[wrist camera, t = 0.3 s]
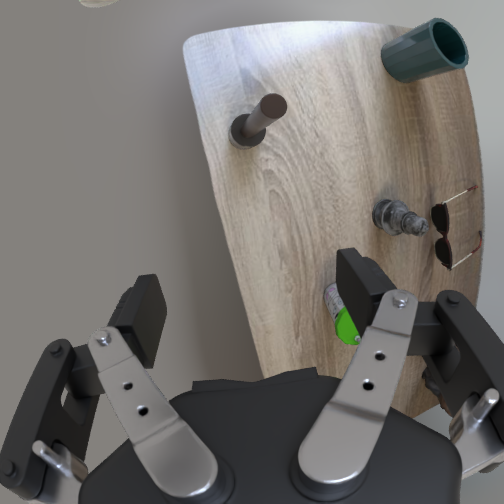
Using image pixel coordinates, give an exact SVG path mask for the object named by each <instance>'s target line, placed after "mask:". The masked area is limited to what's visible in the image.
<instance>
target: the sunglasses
mask: <svg viewBox="0 0 504 504" xmlns="http://www.w3.org/2000/svg"><path fill="white" fill-rule="evenodd" d="M474 188H478V186H474V187H471V188H469V189H467V190H466V191H464V192H462V193H460V194H458V195H456V196H454V197H452V198H450V199H448V200H446V201H444V202H441V204H436V205H435V206H432V207H431V210H430V216H431V221H432V223H433V225H434V226H435V227H436V228H437V229H436V230H437V231H438V232H440V233H441V234H442V235H443V238H440V239H438V240H437V241H436V242H435V243H434V250H435V254H436V257H437V258H438V260H439V261H441V262H442V265H444V266H445V267H447V270H449V271H450V270H451V269H452V268H454V267H455V266H456V265H458V264H459V263H460V262H462V261H463V260H464V259H466V258H467V257H469V256H470V255H472V254H473V253H474V252H476V251H477V250H478V249H479V248H480V246H481V241H482V231H479V233H480V244H479V246H478V247H477V248H476V249H475V250H474V251H472V252H471V253H470V254H469V255H468V256H466V257H465V258H463V259H462V260H461V261H459V262H458V263H457V264H454V265H453V266H452V251H451V247H450V243H449V241H448V239H447V234H448V231H449V214H448V209H447V205H446V203H447V202H449V201H450V200H452V199H453V198H455V197H457V196H459V195H461V194H463V193H465V192H468V191H470V190H472V189H474Z"/></svg>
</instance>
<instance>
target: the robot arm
mask: <svg viewBox="0 0 504 504" xmlns="http://www.w3.org/2000/svg"><path fill="white" fill-rule="evenodd" d="M336 287H337V291H338V294H339V296H340V298H341V300H342V302H343V304H344V305H345V307H346V309H347V311H348V313H349V315H350V317H351V319H352V321H353V323H354V325H355V327H356V329H357V331H358V333H359V335H360V337H361V341H360V343H359V345H358V348H357V350H356V352H355V354H354V356H353V358H352V360H351V362H350V364H349V366H348V368H347V370H346V372H345V374H344V376H343V378H342V379H339V378H336V377H331V376H323V375H318V373H317V370H316V367H311V368H305V369H300V370H293V371H287V372H283V373H281V374H278V375H275V376H272V377H269V378H266V379H263V380H260V381H257V382H244V381H234V380H224V379H219V380H205V381H193V386H192V390H191V391H188V392H185V393H182V394H180V395H178V396H176V397H174V398H173V399H171V400H169V401H167V399H166V398H165V397H164V395H163V394H162V392H161V391H160V390H159V388H158V387H157V386H156V384H155V383H154V382H153V381H152V379H151V378H150V376H149V374H148V373H147V371H146V370H145V369H150V368H153V365H154V361H155V357H156V353H157V350H158V346H159V342H160V338H161V334H162V330H163V327H164V323H165V319H166V315H167V307H166V302H165V299H164V296H163V293H162V290H161V287H160V284H159V281H158V278H157V276H156V274H149V275H141V276H139V277H138V278H137V280H136V282H135V284H134V286H133V287H130V288H129V289H128V290H127V291H126V292H125V293H124V294H123V295H122V297H121V299H120V300H119V303H118V304H117V306H116V309H115V310H114V312H113V314H112V317H111V318H110V321H109V323H108V325H107V326H106V327H103V328H100V329H98V330H96V331H95V332H94V333H92V335H91V336H90V337H89V339H88V344H85V345H81V346H78V347H74V348H73V347H72V345H71V344H70V342H69V341H68V340H66V339H58V340H56V341H54V342H52V343H50V344H49V345H48V346H47V347H46V348H45V350H44V352H43V354H42V356H41V358H40V360H39V361H38V364H37V365H36V368H35V370H34V372H33V374H32V376H31V378H30V380H29V382H28V384H27V386H26V389H25V391H24V393H23V396H22V398H21V400H20V402H19V405H18V407H17V410H16V412H15V414H14V417H13V419H12V422H11V425H10V427H9V430H8V433H7V435H6V438H5V441H4V444H3V447H2V450H1V453H0V483H1V484H2V485H3V486H4V487H6V488H7V489H9V490H11V491H12V492H14V493H15V494H17V495H18V496H19V497H20V498H22V499H23V500H25V501H27V502H28V503H30V504H460V486H461V480H463V479H465V478H466V477H468V476H470V475H472V474H474V473H476V472H480V473H488V472H491V471H492V470H494V469H495V468H496V467H498V466H499V465H500V464H501V463H503V462H504V344H503V343H502V341H501V340H500V339H499V337H498V336H497V335H496V333H495V332H494V331H493V330H492V328H491V327H490V326H489V324H488V323H487V322H486V321H485V319H484V318H483V317H482V316H481V314H480V313H479V312H478V311H477V310H476V308H475V307H474V306H473V305H472V304H471V302H470V301H469V300H468V299H467V298H466V297H465V296H464V295H463V294H461V293H460V292H457V291H454V290H444V291H441V292H440V293H439V294H438V295H437V299H436V302H418V300H417V298H416V296H415V295H414V294H412V293H411V292H409V291H406V290H401V289H397V288H396V286H395V285H394V284H393V283H392V281H391V280H390V279H389V278H388V276H387V275H386V274H385V273H384V271H383V270H382V269H380V267H379V265H378V264H377V263H376V262H375V261H373V260H372V259H370V258H368V257H362V256H361V255H360V254H359V253H358V251H357V250H356V249H355V248H346V249H339V250H338V251H337V257H336ZM454 344H456V345H457V347H458V348H459V351H460V353H459V352H458V350H457V349H456V347H455V346H454ZM413 355H422V357H423V359H424V360H425V362H426V364H427V366H428V368H429V370H430V372H431V374H432V376H433V378H434V380H435V382H436V384H437V386H438V388H439V390H440V392H441V394H442V396H443V398H444V400H445V402H446V405H447V407H448V409H449V411H450V413H451V415H452V417H453V419H452V421H451V423H450V426H449V434H450V438H451V439H450V440H449V439H448V438H447V437H445V436H443V435H442V434H440V433H438V432H436V431H434V430H432V429H430V428H428V427H427V426H425V425H423V424H421V423H419V422H417V421H415V420H413V419H412V418H410V417H408V416H406V415H405V414H403V413H401V412H399V411H397V410H396V409H394V408H392V407H390V405H391V402H392V399H393V396H394V394H395V391H396V388H397V384H398V381H399V378H400V375H401V372H402V368H403V365H404V362H405V358H406V356H413ZM64 387H65V388H66V390H67V391H68V394H67V396H66V400H65V402H64V405H63V407H62V404H61V395H62V392H63V390H64ZM104 393H106V395H107V397H108V399H109V401H110V403H111V405H112V407H113V409H114V411H115V413H116V415H117V417H118V419H119V421H120V423H121V424H122V426H123V428H124V430H125V432H126V434H127V435H128V437H129V438H128V439H127V440H126V441H125V442H124V443H123V444H122V445H121V446H120V447H118V448H117V449H116V450H115V451H114V452H113V453H112V454H111V455H110V456H109V457H108V458H107V459H105V460H104V461H103V462H102V463H101V464H100V465H98V466H97V467H96V468H95V469H94V470H93V471H92V472H90V473H89V474H88V468H87V466H86V464H85V463H84V460H85V455H86V450H87V446H88V441H89V437H90V432H91V428H92V423H93V420H94V415H95V412H96V408H97V404H98V401H99V397H100V394H104Z"/></svg>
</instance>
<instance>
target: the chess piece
mask: <svg viewBox="0 0 504 504" xmlns="http://www.w3.org/2000/svg"><path fill="white" fill-rule="evenodd" d="M372 217H373V221H374V223H375V225H376V226H377V227H378V228H380V229H384V230H385V232H386V233H388V234H389V235H392V236H396V235H399V234H401V233H402V232H403V233H405V234H407V235H409V234H413V235H415V236H418V237H422V236H424V235H425V234H426V233H427V231H428V230H429V229H428V227H429V226H428V222H427V220H426V219H424V218H422V217H419V216H417V215H416V213H414V212H412V211H410V212H409V209H408V207H407V205H406V204H405V203H404V202H402V201H399V200H394V201H391V200H389V199H383V200H380V201H379V202H378V203H377V204H376V205H375V207H374V209H373V213H372Z"/></svg>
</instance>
